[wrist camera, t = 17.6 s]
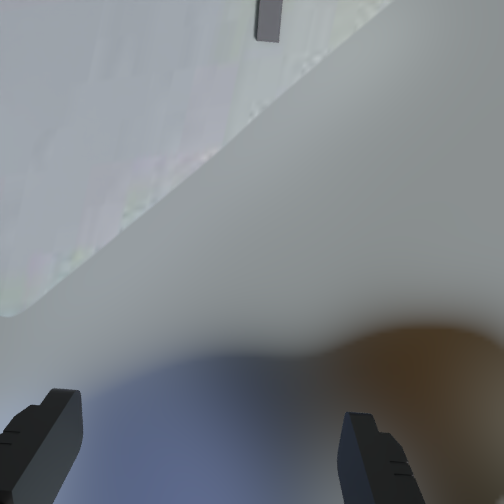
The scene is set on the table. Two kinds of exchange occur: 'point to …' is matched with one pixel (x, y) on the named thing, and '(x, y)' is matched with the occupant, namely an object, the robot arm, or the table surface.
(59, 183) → the table surface
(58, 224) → the table surface
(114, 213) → the table surface
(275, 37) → the flat gray rectangular bar
